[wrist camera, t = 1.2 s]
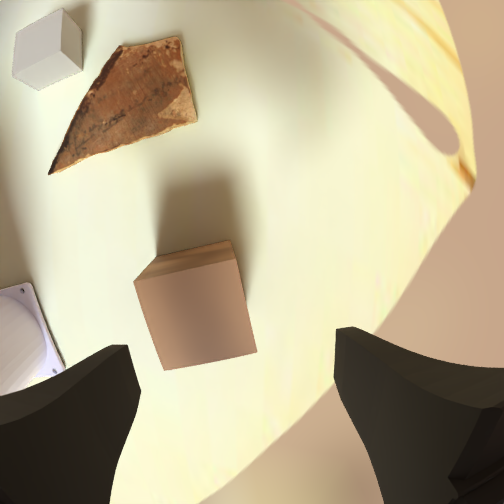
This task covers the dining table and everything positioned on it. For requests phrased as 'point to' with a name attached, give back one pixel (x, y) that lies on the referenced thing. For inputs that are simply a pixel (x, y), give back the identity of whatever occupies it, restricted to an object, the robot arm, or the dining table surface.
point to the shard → (130, 102)
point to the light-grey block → (48, 51)
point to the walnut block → (196, 306)
